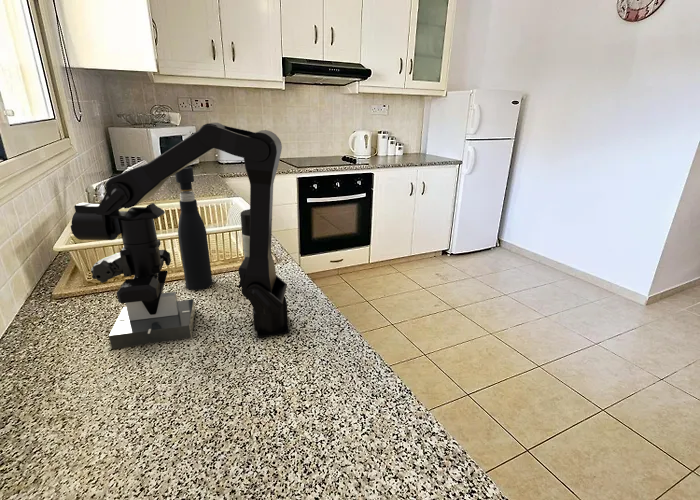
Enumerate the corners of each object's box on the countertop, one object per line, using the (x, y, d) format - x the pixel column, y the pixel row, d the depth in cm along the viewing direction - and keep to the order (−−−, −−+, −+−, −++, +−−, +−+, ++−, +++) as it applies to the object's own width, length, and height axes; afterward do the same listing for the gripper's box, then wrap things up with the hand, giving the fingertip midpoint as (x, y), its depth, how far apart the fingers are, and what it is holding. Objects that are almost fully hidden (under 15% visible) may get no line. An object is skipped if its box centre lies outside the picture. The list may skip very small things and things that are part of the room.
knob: (179, 310, 78) (175, 290, 77) (178, 314, 77) (174, 294, 75) (131, 316, 76) (126, 295, 74) (129, 321, 74) (124, 300, 73)
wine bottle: (217, 283, 97) (204, 167, 86) (196, 292, 92) (179, 170, 81) (202, 277, 100) (186, 164, 90) (180, 286, 95) (162, 167, 85)
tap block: (195, 308, 85) (194, 296, 84) (190, 341, 74) (188, 327, 72) (127, 316, 81) (124, 304, 80) (110, 352, 70) (106, 338, 69)
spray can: (270, 293, 93) (265, 215, 86) (243, 292, 93) (236, 215, 86) (276, 281, 99) (271, 208, 92) (250, 280, 99) (244, 207, 92)
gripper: (106, 227, 76) (121, 295, 82) (72, 262, 60) (94, 344, 65) (165, 224, 80) (176, 289, 85) (148, 256, 63) (163, 334, 69)
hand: (154, 311), depth 76 cm, fingers closed on knob, 2 cm apart
